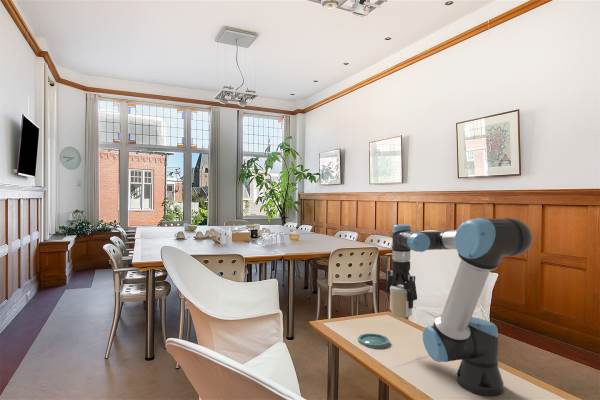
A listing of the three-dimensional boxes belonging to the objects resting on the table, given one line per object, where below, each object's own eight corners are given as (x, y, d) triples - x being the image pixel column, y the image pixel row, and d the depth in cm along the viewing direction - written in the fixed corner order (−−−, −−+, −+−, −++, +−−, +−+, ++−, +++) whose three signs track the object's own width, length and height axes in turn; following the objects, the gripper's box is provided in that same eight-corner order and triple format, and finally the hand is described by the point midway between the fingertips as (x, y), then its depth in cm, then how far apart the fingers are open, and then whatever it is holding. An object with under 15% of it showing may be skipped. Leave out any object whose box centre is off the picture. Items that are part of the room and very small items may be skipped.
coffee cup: (412, 319, 151) (413, 290, 151) (389, 317, 153) (390, 289, 153) (411, 312, 160) (411, 285, 160) (389, 310, 163) (389, 283, 162)
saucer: (395, 344, 163) (395, 340, 163) (373, 351, 155) (373, 347, 155) (373, 334, 174) (373, 331, 174) (351, 340, 167) (351, 337, 167)
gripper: (427, 263, 149) (426, 318, 150) (389, 255, 168) (388, 304, 168) (415, 265, 146) (414, 321, 146) (377, 257, 164) (376, 307, 164)
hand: (400, 312), depth 157 cm, fingers closed on coffee cup, 8 cm apart
